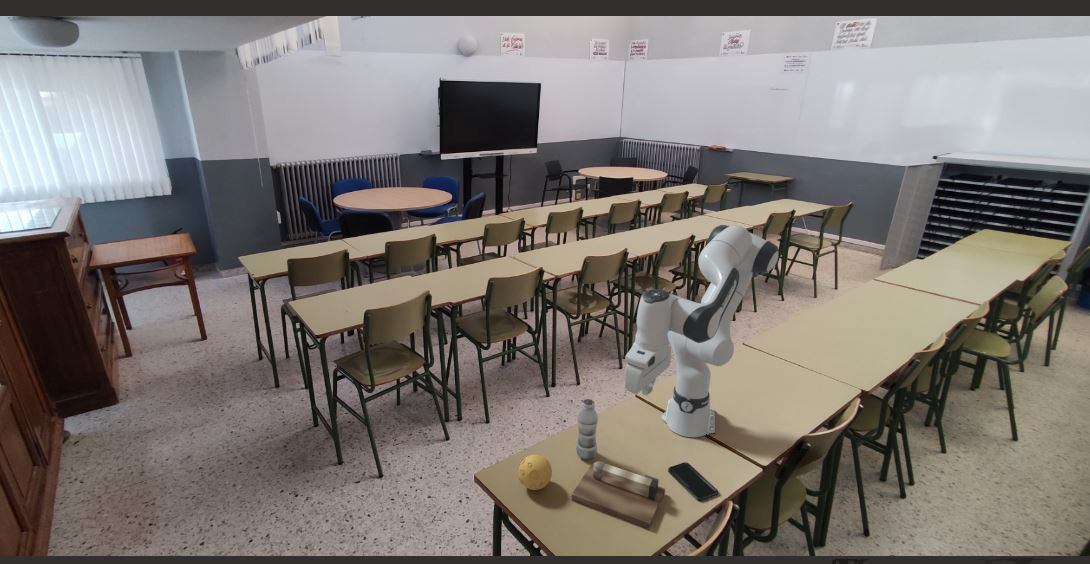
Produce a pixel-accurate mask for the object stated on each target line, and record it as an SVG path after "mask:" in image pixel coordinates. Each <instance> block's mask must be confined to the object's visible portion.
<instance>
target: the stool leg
mask: <svg viewBox="0 0 1090 564" xmlns="http://www.w3.org/2000/svg"><path fill="white" fill-rule="evenodd" d="M593 464H594V469H593V477H594V478H595V479H597V480H601V481H603V482H606V483H609V484H612V485H615V486H618V487H620V488H623V489H626V490H629V491H632V492H634V493H637V494H640V495H643V496H646V497H648V498H650V499H653V500H654V498H655V496H656V494H657V487H658V486H659V481H657V480H654V479H650V478H647V477H644V476H645V475H644V476H643V475H640V474H638V473H634V472H631V471H629V470H625V469H622V468H619V467H617V466H613V465H611V464H608V463H604V462H603V461H595V462H594V463H593Z"/></svg>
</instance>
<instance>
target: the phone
mask: <svg viewBox="0 0 1090 564" xmlns="http://www.w3.org/2000/svg"><path fill="white" fill-rule="evenodd" d="M667 472H668V473H669V474H670V476H672V477H673V478H674V479H675V480H676V481H677V482H678V483H679V484H680V485H681V486H682V488H684V490H686V491H687V493H689V494H690V495H691V496H692V498H694V500H696V501H697V502H704V501H707V500H709V499H712V498H715V497H717V496H718V495H719V490H718V489H717V488H716V487H715V486H714V485H713V484H712V483H711V482H710V481H708V480H707V478H705V477H704V476H703V475H702V474H701V473H700V472H699V471H698V470H697V469H696V468H695V467H693V465H691V464H690V463H689V462H681V463H679V464H675V465H672V466H669V467H668V469H667Z"/></svg>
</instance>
